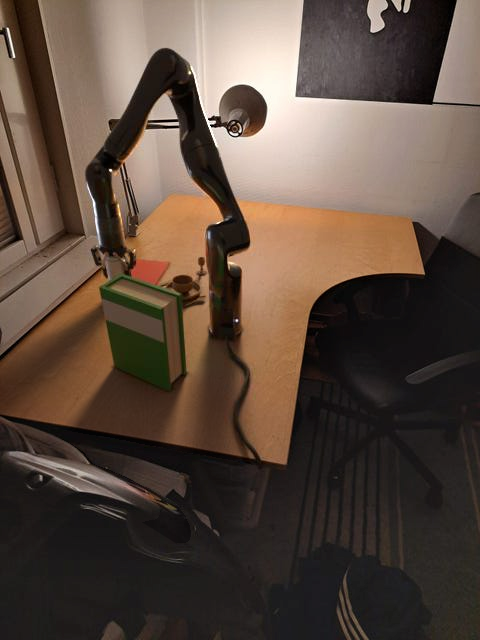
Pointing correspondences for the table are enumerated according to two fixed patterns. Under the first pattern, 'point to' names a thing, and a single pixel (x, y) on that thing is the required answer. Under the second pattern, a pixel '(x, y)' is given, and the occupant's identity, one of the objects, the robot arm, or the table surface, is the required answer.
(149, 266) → the cloth
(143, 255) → the table surface
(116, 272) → the energy drink can
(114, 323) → the hardback book
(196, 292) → the place setting
